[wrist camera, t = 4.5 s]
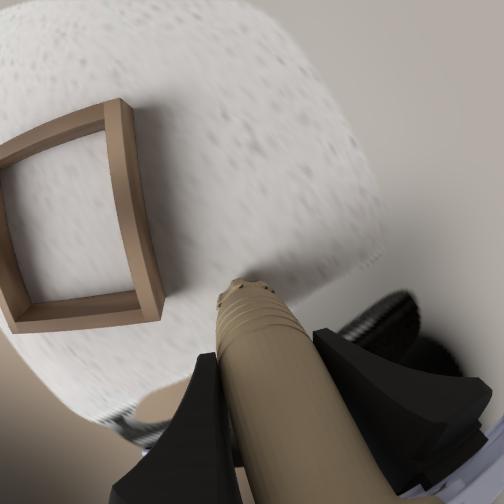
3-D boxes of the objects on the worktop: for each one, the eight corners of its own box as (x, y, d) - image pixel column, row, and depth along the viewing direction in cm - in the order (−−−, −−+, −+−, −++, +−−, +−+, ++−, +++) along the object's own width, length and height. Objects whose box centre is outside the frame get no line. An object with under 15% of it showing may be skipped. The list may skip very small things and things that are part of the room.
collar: (165, 298, 15) (159, 327, 12) (28, 315, 14) (8, 338, 11) (132, 108, 12) (116, 94, 9) (-10, 162, 10) (-39, 165, 7)
